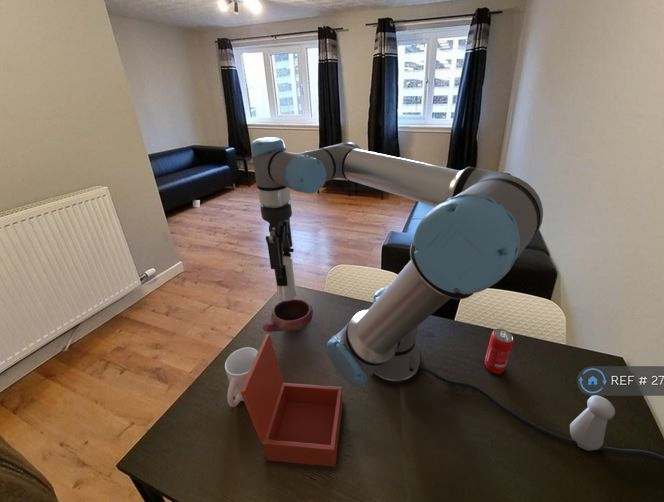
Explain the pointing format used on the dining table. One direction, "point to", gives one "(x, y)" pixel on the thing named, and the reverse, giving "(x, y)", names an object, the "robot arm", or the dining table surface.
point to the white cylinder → (290, 290)
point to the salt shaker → (592, 423)
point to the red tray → (305, 425)
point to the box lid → (262, 388)
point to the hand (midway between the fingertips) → (285, 278)
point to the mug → (238, 372)
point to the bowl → (289, 316)
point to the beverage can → (498, 350)
